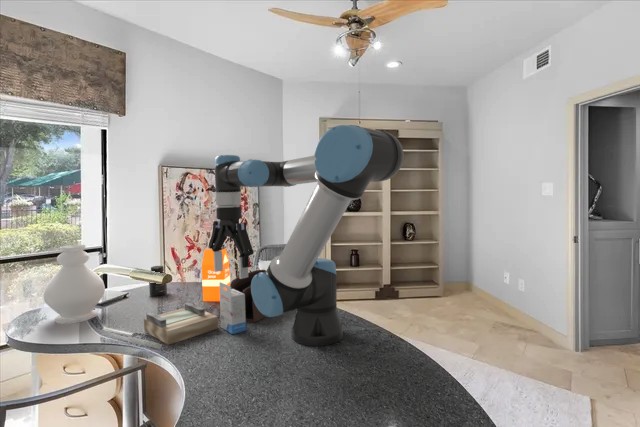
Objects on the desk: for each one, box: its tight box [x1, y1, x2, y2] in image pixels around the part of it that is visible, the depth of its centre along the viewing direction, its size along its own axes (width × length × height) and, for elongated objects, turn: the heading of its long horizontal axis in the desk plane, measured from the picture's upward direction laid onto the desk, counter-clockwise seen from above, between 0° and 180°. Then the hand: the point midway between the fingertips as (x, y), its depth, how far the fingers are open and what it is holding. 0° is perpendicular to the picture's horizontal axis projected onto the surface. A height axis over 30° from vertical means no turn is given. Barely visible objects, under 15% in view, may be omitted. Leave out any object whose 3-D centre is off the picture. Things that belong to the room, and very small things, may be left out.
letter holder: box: [230, 269, 267, 324], centre depth 132 cm, size 10×20×14 cm, turn 152°
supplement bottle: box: [148, 265, 168, 298], centre depth 156 cm, size 7×7×12 cm
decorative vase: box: [43, 244, 106, 325], centre depth 129 cm, size 18×18×25 cm
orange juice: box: [201, 248, 231, 302], centre depth 149 cm, size 8×9×20 cm
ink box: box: [219, 282, 247, 335], centre depth 116 cm, size 8×5×15 cm, turn 39°
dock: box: [143, 302, 219, 346], centre depth 116 cm, size 16×16×6 cm
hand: (230, 274), depth 116 cm, fingers open, 13 cm apart
